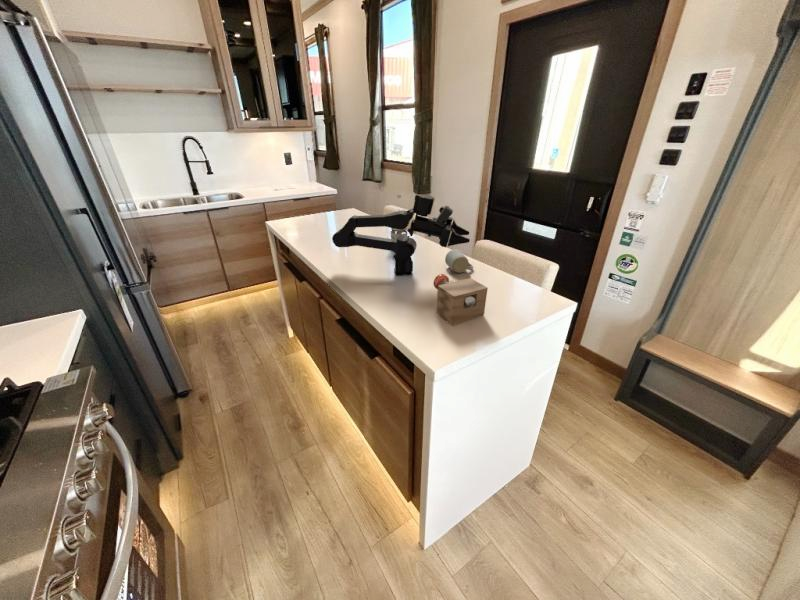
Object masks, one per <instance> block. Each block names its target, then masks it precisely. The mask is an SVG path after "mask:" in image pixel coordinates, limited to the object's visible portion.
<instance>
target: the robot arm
mask: <svg viewBox="0 0 800 600" xmlns="http://www.w3.org/2000/svg"><path fill="white" fill-rule="evenodd" d="M434 202H435V197H434V196H431V195H429V194H418V193H417V194H415V195H414V204H413V207H412V208H411V209H408V210H404V209H403V210H398V211H393V212H391V213H387V214H373V215H372V214H371V215H370V214H369V215H355V214H354V215H353V216H351V217H349V218H348V220H347V221H346V223H345V224H344V225H343V226H342V227H341V228H340V229H338V230H337V231H336V232H335V233H334V234H332V237H331V239H332V243H333V244H334V246H335V247H337V248H349V247H357V246H358V247H362V248H368V249H377V250H381V251H382V250H384V251H389V252H392V253H394V255H393V259H394V268H393V270H394V274H395V276H397V277H399V276H412V275H413V270H414V263H413V262H414V261H413V260H412V256H413V255H414V253H415V252H416V248H417V241H416V240H415V239H414V238H412V237H413V235H414V233H415V232H417V233H419V234H420V233H421V234H424V235H427V237H429V238H431V237H435V238H438V240H439V242H438V243H439V245H440V247H442V248H447V247H450V246H451V247H452V246H456V245H461V244H467V243H470V241H471V239H470V238H468V237H465V236H469V235H470V231H469V230H466V229H465V228H463V227H461V226H459V225H458V224H457V222H456V221H455V219H454V218H453V217H451V216H452V215H453V212H454V210H453V209H452V208H451V207H450V206H448V205H445V206H444V205H443V206H440V208H439V210H438V211H439V214H438V215H437V217H432V218H430V217H429V218H428V215H431V214H432V211H433V210H432V209H433V206H434ZM414 216H415V217H414ZM413 218H414V219H413ZM409 225H410V227H409ZM379 227H380V228H382V227H384V228H385V227H386V228H393V229H400V230H403V229H405V228H407V227H409V228H407V229H406V231H407V233H408V234H409V235H407V236H403V235H399V236H398V238H397V239H391V238H388V237H381V236H380V237H379V236H374V235H373V236H372V235H366V234H360V233H357V232H355V230H356V229H357V228H379Z"/></svg>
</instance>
